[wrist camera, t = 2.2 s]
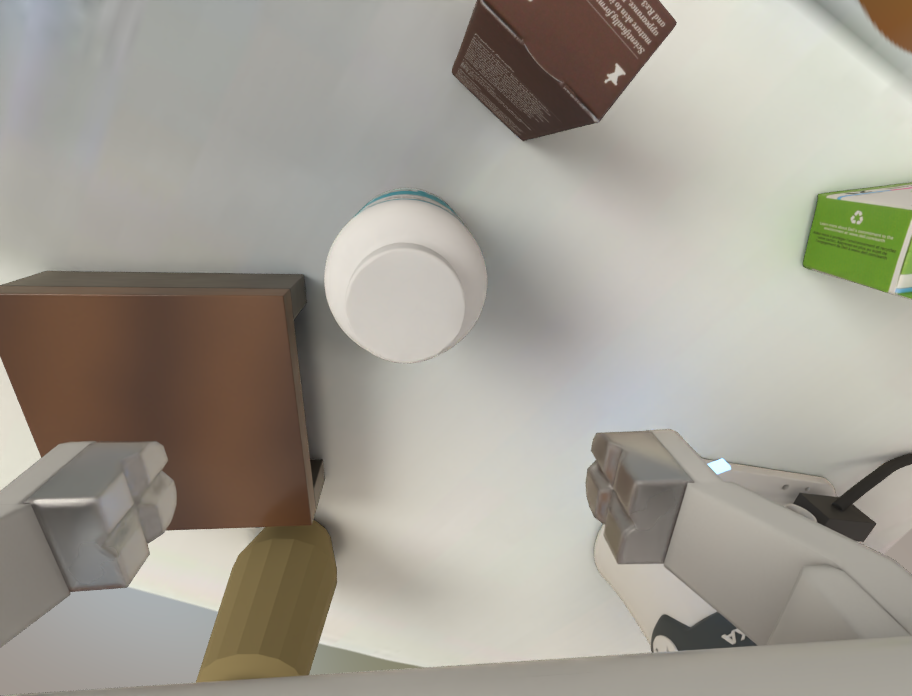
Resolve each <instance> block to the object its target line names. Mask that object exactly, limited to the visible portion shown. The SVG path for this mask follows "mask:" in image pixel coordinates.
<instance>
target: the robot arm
mask: <svg viewBox="0 0 912 696" xmlns="http://www.w3.org/2000/svg"><path fill="white" fill-rule="evenodd" d="M591 451H592V453H593V455H594V457H595V458H596V461H595V462H594V463H593V464H592V465H591V466H590V467H589V468H588V469H587V476H586V495H587V500H588V503H589V507H590V509H591V511H592V513H593V516H594V517H595V518H596V519H598V520H599V521H600V522H602V523H603V525H602V527H601V529H600V531H599V533H598V535H597V538H596V541H595V546H594V560H595V564H596V567H597V569H598V571H599V573H600V574H601V576H602V577H603V578H604V579H605V580H606V581H607V582H608V583H609V584H610V586H611V587H612V588H613V589H614V591H615V592H616V593H617V594H618V596H619V597H620V598H621V600H622V601H623V603H624V604H625V606H626V607H627V609H628V610H629V611H630V613H631V614H632V616H633V618H634V619H635V621H636V622H637V624H638V626H639V627H640V629H641V630H642V632H643V634H644V635H645V637H646V639H647V641H648V642H649V644H650V646H651V651H652V653H639V654H624V655H609V656H594V657H578V658H563V659H548V660H533V661H517V662H502V663H487V664H472V665H457V666H441V667H426V668H411V669H396V670H381V671H366V672H351V673H335V674H320V675H305V676H290V677H275V678H259V679H244V680H229V681H213V682H198V683H183V684H168V685H153V686H137V687H122V688H106V689H91V690H76V691H62V692H61V691H60V692H47V693H46V692H45V693H30V694H16V695H0V696H912V574H911V573H909V572H908V571H907V570H906V569H905V568H904V567H902V566H901V565H900V564H899V563H898V562H897V561H895V560H894V559H892V558H890V557H888V556H885V555H883V554H881V553H879V552H877V551H875V550H873V549H871V548H869V547H867V546H865V545H863V544H861V543H859V542H856V541H861V542H864V540H865V539H866V538H867V536H868V535H869V533H870V532H871V531H872V529H873V528H874V526H875V525H876V523H875V522H874V521H873V520H871V519H870V518H869V517H868V516H866V515H865V514H864V513H863V512H861V511H860V510H859V509H858V508H856V507H855V506H854V505H853V503H854V502H855V501H856V500H858V499H859V498H860V497H861V496H863V495H864V494H865V493H866V492H868V491H869V490H870V489H872V488H873V487H874V486H876V485H877V484H878V483H880V482H881V481H882V480H884V479H885V478H886V477H887V476H889V475H890V474H891V473H893V472H894V471H896V470H898V469H900V468H902V467H904V466H907V465H910V464H912V453H911V454H907V455H903V456H900V457H897V458H894V459H892V460H890V461H888V462H886V463H884V464H882V465H881V466H880V467H878V468H877V469H876V470H875V471H873V472H872V473H870V474H869V475H868V476H866V477H865V478H864V479H862V480H861V481H860V482H858V483H857V484H856V485H854V486H853V487H852V488H851V489H849V490H848V491H847V492H846V493H844V494H843V495H842V496H841V497H836V493H835V489H834V487H833V485H832V484H831V483H830V482H829V481H828V480H827V479H825V478H822V477H818V476H812V475H805V474H799V473H792V472H786V471H779V470H773V469H766V468H760V467H753V466H747V465H740V464H734V463H727V462H726V461H725V460H724V459H720V460H717V461H714V460H708V459H702V458H701V457H700V456H699V455H698V454H697V453H696V451H695V450H694V449H693V448H692V447H691V446H690V445H689V444H688V443H687V442H686V441H685V440H684V439H683V438H682V437H681V436H680V435H679V434H678V432H676V431H673V430H671V429H664V430H646V431H632V432H605V433H596V435H595V437H594V439H593V442H592V447H591ZM167 462H168V458H167V455H166V452H165V449H164V446H163V445H162V444H160V443H158V442H156V441H98V442H95V441H81V442H67V443H62V444H58V445H57V446H56V447H55V448H53V449H52V450H51V451H50V452H48V453H47V454H46V455H45V456H43V457H42V458H41V459H40V460H38V461H37V462H36V463H35V464H33V465H32V466H31V467H30V468H28V469H27V470H26V471H25V472H23V473H22V474H21V475H20V476H18V477H17V478H16V479H15V480H13V481H12V482H11V483H10V484H8V485H7V486H6V487H5V488H3V489H2V490H1V491H0V648H1V647H2V646H3V645H5V644H6V643H7V642H9V641H10V640H11V639H13V638H14V637H15V636H17V635H18V634H19V633H21V632H22V631H23V630H25V629H26V628H27V627H28V626H30V625H31V624H32V623H34V622H35V621H36V620H38V619H39V618H40V617H42V616H43V615H44V614H46V613H47V612H48V611H50V610H51V609H52V608H54V607H55V606H56V605H58V604H59V603H60V602H62V601H63V600H64V599H65V598H67V597H68V596H69V595H70V592H75V591H87V590H88V591H89V590H102V589H114V588H127V587H128V586H129V584H130V583H131V581H132V580H133V578H134V577H135V575H136V574H137V572H138V571H139V569H140V568H141V566H142V565H143V563H144V562H145V560H146V559H147V557H148V556H149V555H150V552H149V548H148V543H150V542H151V541H153V540H154V539H156V538H157V537H159V536H160V535H162V534H163V533H164V532H165V530H166V529H167V527H168V526H169V524H170V522H171V521H172V518H173V515H174V511H175V508H176V504H177V492H176V487H175V483H174V480H173V479H172V478H170V477H169V476H168V475H167V474H166V473H164V472H163V471H162V470H163V468H164V467H165V465H166V463H167Z"/></svg>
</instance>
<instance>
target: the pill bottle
mask: <svg viewBox="0 0 912 696" xmlns="http://www.w3.org/2000/svg"><path fill="white" fill-rule="evenodd" d="M324 284H325V292H326V297H327V301H328V304H329V307H330V310H331V312H332V314H333V316H334V318H335V320H336V321H337V323H338V324H339V326H340V327H341V329H342V330H343V331H344V332H345V333H346V335H347V336H348V337H349V338H351V339H352V340H353V341H354V342H355V343H357V344H358V345H359V346H361V347H362V348H364V349H365V350H367V351H369V352H371V353H372V354H374V355H376V356H377V357H379V358H382V359H384V360H388V361H391V362H395V363H416V362H421V361H425V360H428V359H430V358H433V357H435V356H436V355H439V354H441V353H443V352H445V351H447V350H449V349H451V348H452V347H454V346H455V345H456V344H457V343H459V342H460V341H461V340H462V339H463V338H464V337H465V336H466V335H467V334H468V333H469V331H470V330H471V329H472V328H473V326H474V325H475V323H476V322H477V320H478V318H479V316H480V314H481V311H482V309H483V306H484V302H485V298H486V292H487V272H486V266H485V262H484V258H483V255H482V253H481V250H480V248H479V246H478V244H477V242H476V240H475V239H474V237H473V236H472V234H471V233H470V231H469V230H468V229H467V227H466V226H465V225H464V224H463V222H462V221H461V220H460V219H459V217H458V216H457V215H456V214H455V212H454V211H453V210H452V209H451V208H450V207H449V206H448V205H447V204H446V203H445V202H444V201H443V200H441V199H440V198H438V197H437V196H435V195H433V194H431V193H429V192H427V191H423V190H420V189H414V188H398V189H393V190H389V191H387V192H384V193H382V194H380V195H378V196H376V197H375V198H374V199H372V200H371V201H370V202H369V203H367V204H366V205H365V206H364V207H363V208H362V209H361V210H360V211H359V212H358V213H357V214H356V215H355V216H354V217H353V218H352V219H351V220H350V221H349V222H348V223H347V224H346V225H345V227H344V228H343V229H342V230H341V231H340V233H339V234H338V236H337V237H336V239H335V241H334V242H333V244H332V246H331V248H330V251H329V254H328V257H327V261H326V266H325V274H324Z"/></svg>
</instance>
